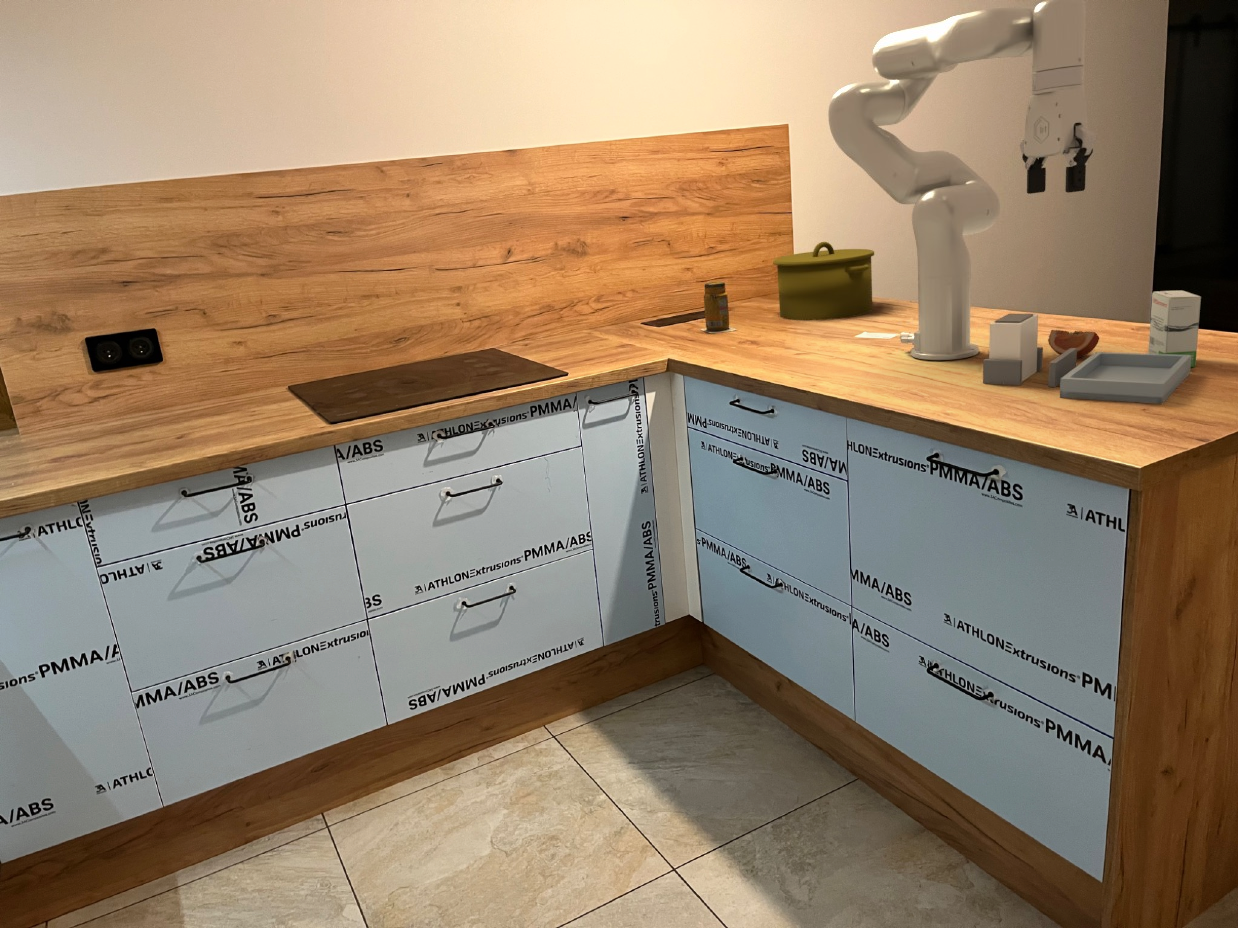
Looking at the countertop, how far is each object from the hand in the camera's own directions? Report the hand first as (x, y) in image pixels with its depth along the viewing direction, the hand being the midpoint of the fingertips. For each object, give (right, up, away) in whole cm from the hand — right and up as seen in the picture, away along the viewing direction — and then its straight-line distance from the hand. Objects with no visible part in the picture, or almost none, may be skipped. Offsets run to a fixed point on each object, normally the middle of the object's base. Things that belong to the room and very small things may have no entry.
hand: (1055, 192), depth 153 cm
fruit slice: (+10, -26, +15) cm, 31 cm away
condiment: (-47, -11, +83) cm, 96 cm away
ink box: (+21, -28, +3) cm, 35 cm away
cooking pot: (-18, -5, +92) cm, 94 cm away
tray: (+8, -33, -7) cm, 34 cm away
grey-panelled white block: (-5, -30, +6) cm, 31 cm away
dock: (-3, -30, +4) cm, 31 cm away
